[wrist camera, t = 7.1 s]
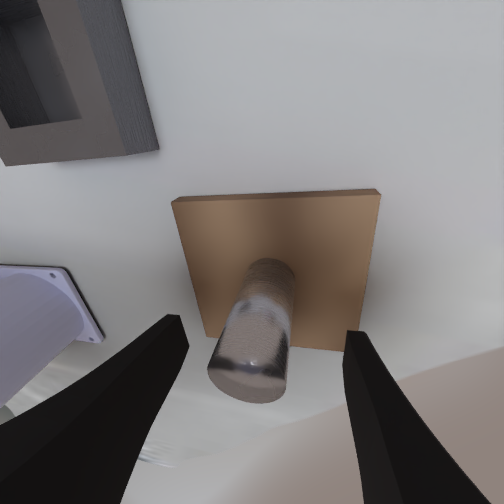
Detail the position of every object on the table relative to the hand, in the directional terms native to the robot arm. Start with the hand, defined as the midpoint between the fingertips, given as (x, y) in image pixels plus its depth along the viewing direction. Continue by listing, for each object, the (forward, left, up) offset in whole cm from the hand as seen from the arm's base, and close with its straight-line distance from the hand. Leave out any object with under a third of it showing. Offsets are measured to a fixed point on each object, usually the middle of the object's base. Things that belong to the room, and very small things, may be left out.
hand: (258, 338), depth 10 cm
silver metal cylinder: (0, 0, -4) cm, 4 cm away
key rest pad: (0, 0, -5) cm, 5 cm away
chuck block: (-9, +11, -5) cm, 15 cm away
